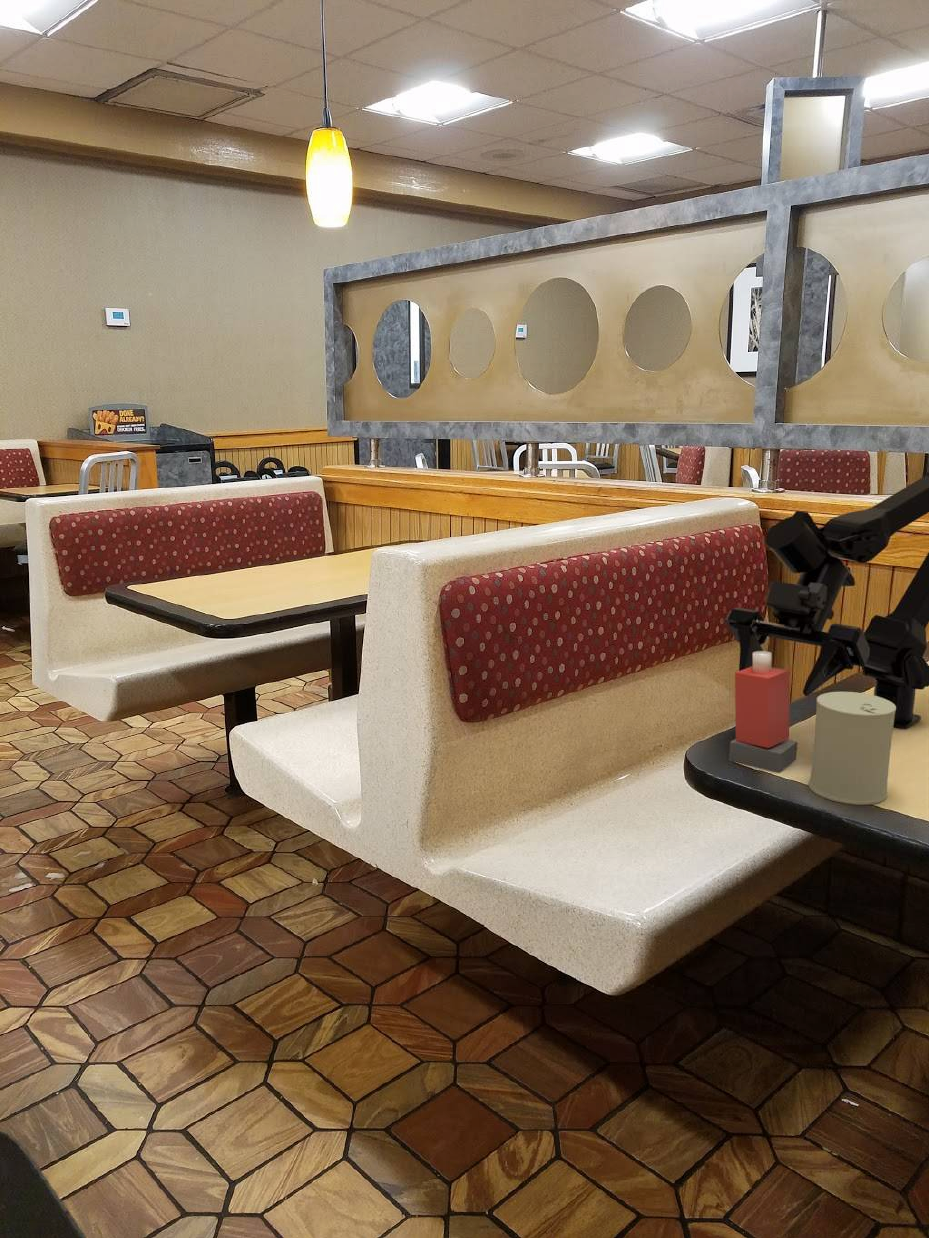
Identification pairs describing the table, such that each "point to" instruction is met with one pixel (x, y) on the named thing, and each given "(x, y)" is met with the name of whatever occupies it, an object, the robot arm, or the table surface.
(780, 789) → the table surface
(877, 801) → the can
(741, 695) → the ketchup bottle
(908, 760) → the table surface
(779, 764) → the grey box
